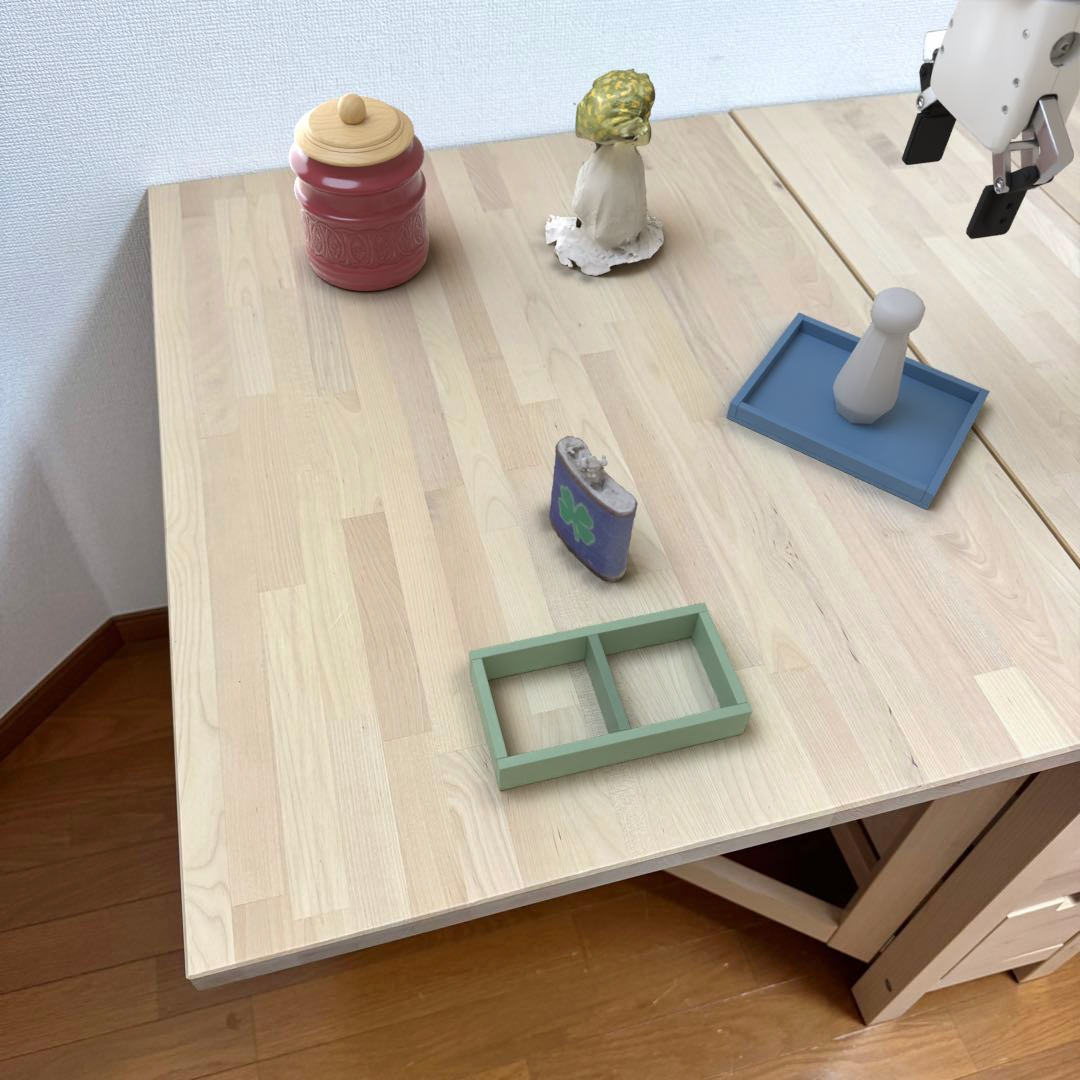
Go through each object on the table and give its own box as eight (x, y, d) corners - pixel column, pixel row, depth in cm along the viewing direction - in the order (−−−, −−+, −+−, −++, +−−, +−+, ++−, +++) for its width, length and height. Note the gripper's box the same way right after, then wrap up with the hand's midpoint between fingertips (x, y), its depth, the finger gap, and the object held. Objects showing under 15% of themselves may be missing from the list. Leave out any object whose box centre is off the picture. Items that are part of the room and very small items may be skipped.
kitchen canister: (432, 219, 110) (423, 61, 96) (427, 295, 102) (417, 135, 88) (313, 218, 110) (287, 58, 96) (299, 293, 102) (269, 132, 88)
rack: (697, 626, 79) (704, 601, 76) (742, 734, 73) (752, 711, 71) (469, 674, 76) (468, 650, 73) (499, 791, 70) (499, 769, 67)
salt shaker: (894, 433, 92) (944, 323, 82) (832, 430, 92) (875, 320, 82) (881, 388, 96) (928, 278, 85) (822, 386, 96) (862, 275, 85)
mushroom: (686, 249, 109) (717, 85, 94) (596, 292, 104) (614, 126, 89) (615, 196, 114) (634, 34, 100) (526, 235, 109) (533, 70, 95)
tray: (981, 406, 95) (990, 390, 94) (927, 510, 87) (934, 495, 86) (793, 327, 101) (798, 312, 100) (725, 417, 93) (730, 402, 92)
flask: (631, 574, 82) (647, 489, 73) (602, 590, 81) (615, 505, 72) (566, 501, 86) (574, 413, 78) (538, 515, 85) (543, 427, 77)
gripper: (1192, 7, 57) (1060, 259, 70) (1027, -108, 67) (939, 131, 81) (1079, 18, 56) (966, 273, 69) (928, -101, 66) (855, 141, 79)
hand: (951, 196), depth 75 cm, fingers open, 9 cm apart
